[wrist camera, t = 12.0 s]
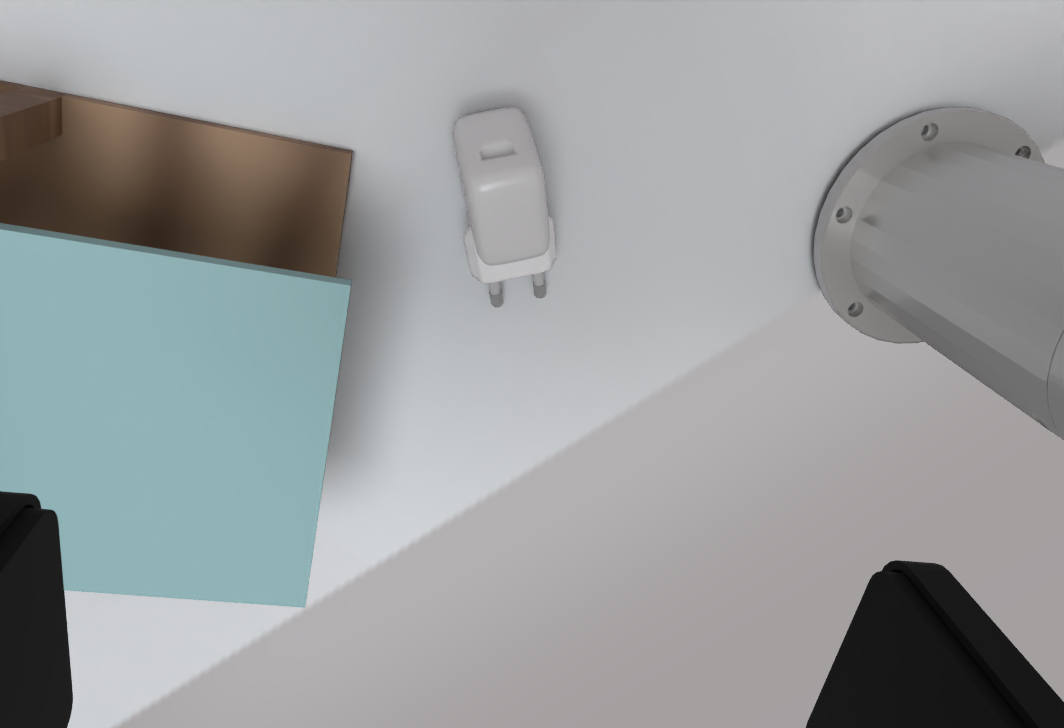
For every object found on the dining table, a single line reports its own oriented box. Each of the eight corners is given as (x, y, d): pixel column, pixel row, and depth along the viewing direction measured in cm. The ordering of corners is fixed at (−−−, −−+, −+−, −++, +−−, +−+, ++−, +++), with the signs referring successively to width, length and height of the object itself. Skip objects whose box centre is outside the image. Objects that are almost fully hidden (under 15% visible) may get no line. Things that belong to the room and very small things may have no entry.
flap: (355, 256, 30) (344, 317, 24) (306, 599, 36) (289, 707, 31) (-226, 157, 25) (-394, 205, 20) (-164, 564, 32) (-278, 682, 27)
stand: (352, 151, 37) (315, 256, 23) (305, 501, 45) (256, 741, 31) (-82, 64, 34) (-447, 126, 19) (-50, 464, 41) (-293, 718, 27)
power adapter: (547, 252, 43) (569, 324, 40) (469, 268, 43) (485, 341, 40) (532, 94, 35) (557, 168, 32) (436, 113, 35) (452, 189, 32)
